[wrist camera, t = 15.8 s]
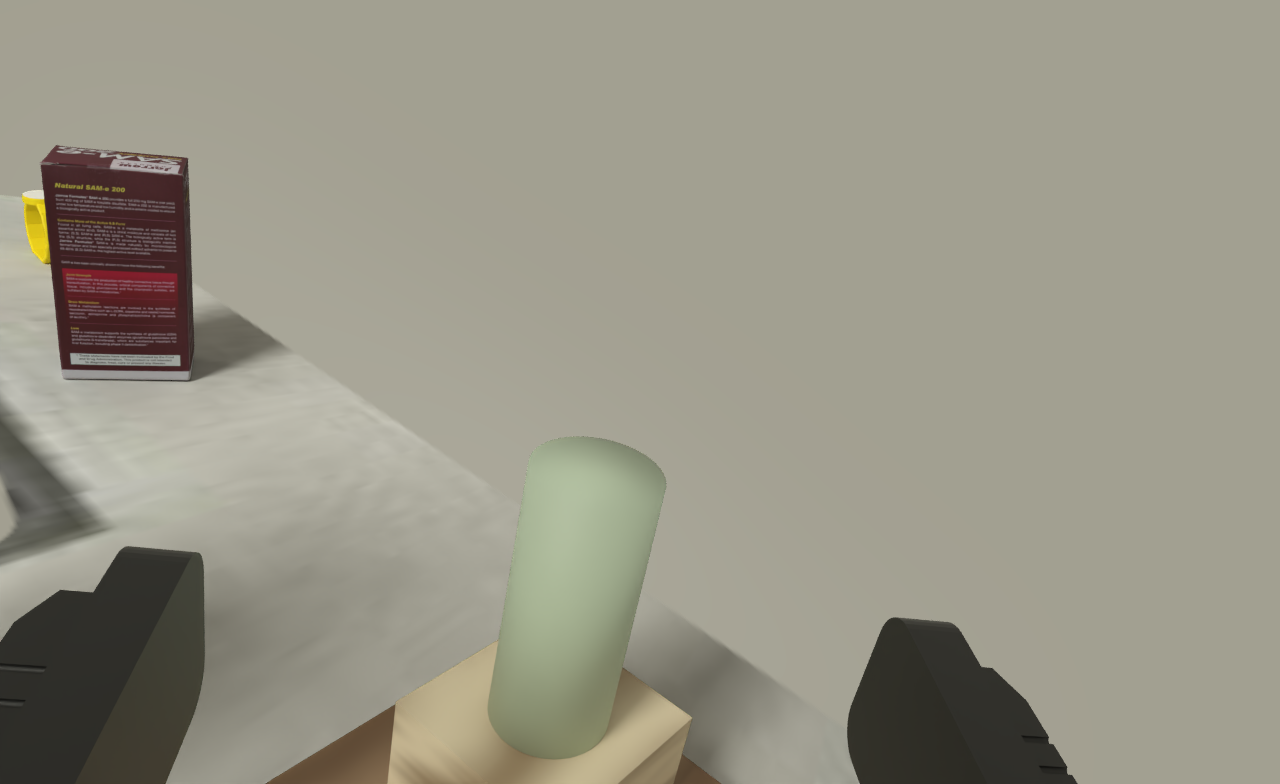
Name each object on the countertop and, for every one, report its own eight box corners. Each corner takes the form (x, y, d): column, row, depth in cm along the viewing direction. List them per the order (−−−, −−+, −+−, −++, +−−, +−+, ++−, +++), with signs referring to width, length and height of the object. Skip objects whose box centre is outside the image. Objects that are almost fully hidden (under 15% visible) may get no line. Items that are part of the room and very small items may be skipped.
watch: (19, 251, 86) (11, 186, 84) (53, 248, 88) (46, 184, 86) (40, 270, 83) (32, 202, 80) (75, 266, 85) (68, 200, 82)
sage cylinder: (461, 707, 40) (499, 462, 34) (543, 651, 44) (588, 423, 39) (554, 781, 37) (609, 529, 32) (632, 713, 41) (692, 480, 36)
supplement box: (195, 354, 75) (192, 155, 68) (190, 383, 71) (186, 174, 64) (69, 351, 72) (52, 142, 65) (57, 380, 68) (37, 161, 61)
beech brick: (387, 786, 41) (395, 701, 39) (530, 688, 48) (544, 611, 46) (534, 926, 37) (553, 840, 35) (669, 797, 44) (692, 717, 42)
